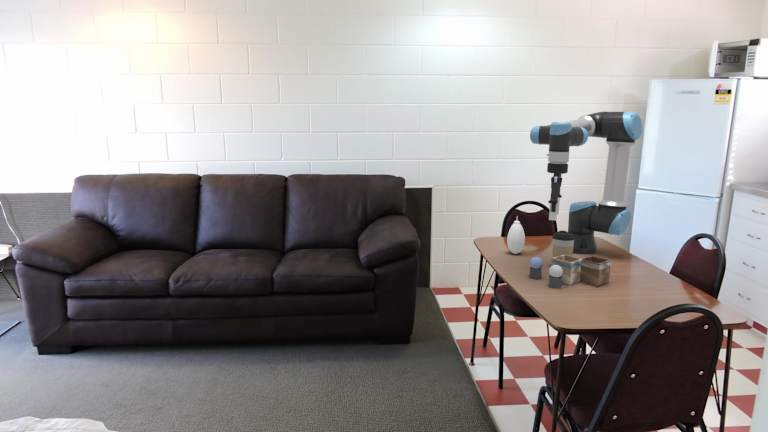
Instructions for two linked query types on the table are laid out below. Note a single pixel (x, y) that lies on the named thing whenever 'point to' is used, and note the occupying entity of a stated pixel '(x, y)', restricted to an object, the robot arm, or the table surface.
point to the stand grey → (554, 282)
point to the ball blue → (536, 263)
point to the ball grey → (555, 271)
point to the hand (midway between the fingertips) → (553, 217)
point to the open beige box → (568, 268)
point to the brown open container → (595, 271)
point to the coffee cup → (562, 243)
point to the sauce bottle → (516, 238)
